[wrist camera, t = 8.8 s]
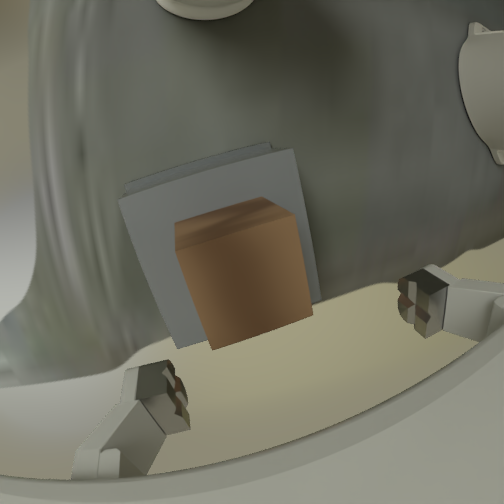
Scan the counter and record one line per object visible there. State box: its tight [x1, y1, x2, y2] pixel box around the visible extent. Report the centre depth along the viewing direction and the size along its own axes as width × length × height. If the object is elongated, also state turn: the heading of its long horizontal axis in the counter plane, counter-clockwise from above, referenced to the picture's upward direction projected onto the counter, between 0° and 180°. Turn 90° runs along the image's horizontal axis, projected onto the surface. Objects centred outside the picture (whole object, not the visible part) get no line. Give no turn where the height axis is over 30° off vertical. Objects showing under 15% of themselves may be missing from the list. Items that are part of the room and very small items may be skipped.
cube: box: [175, 196, 313, 350], centre depth 15 cm, size 5×5×5 cm
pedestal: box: [118, 142, 322, 349], centre depth 21 cm, size 11×11×6 cm
